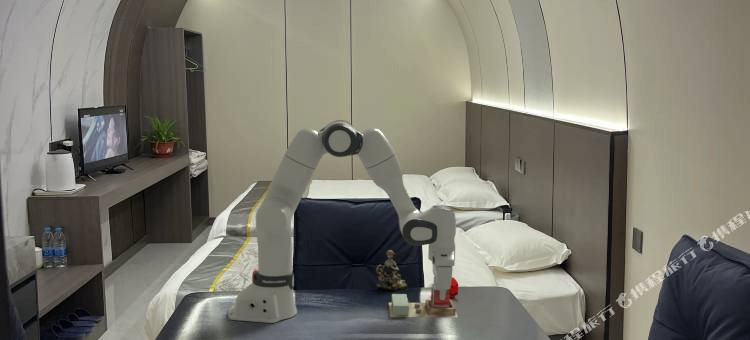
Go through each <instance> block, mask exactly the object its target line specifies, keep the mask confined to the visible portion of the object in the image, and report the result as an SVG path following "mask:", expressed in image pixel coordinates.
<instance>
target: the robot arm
mask: <svg viewBox="0 0 750 340" xmlns="http://www.w3.org/2000/svg"><path fill="white" fill-rule="evenodd" d="M326 154H329V155H331V156H333V157H336V158H346V157H351V156H355V155H356V156H357V157H358V158H359V160H360V162H361V163H362V165H363V168H364V169H365V172H366V173H367V174H368V176H369V178H370V179H371V180H372V182H373V183H374V184H375V185H376V186H377V187H378V188H380V189H382V191H384V192H385V193H386V194H387V196H388V198H389V200H390V201H391V204H392V205H393V207H394V209H395V211H396V214H397V217H398V229H399V230H400V232H401V235H402V238H403V240H404V241H405V243H407V244H409V245H411V246H414V247H417V246H418V247H419V246H427V245H428V252H427V254H428V256H427V257H428V260H429V261H431V264H432V274H433V276H434V277H435V278H436V282H437V285H438V287H439V289H440V293H439V298H440V299H441V300H445V294H446V290H449V289H450V286H451V279H452V277H453V267H455V265H456V263H455V262H456V241H455V238H456V233H457V221H456V220H457V219H456V218H457V217H456V214H455V211H454V210H453V209H452V208H450V207H447V206H444V205H438V204H436V205H432V206H431V207H430V208H429V209H426V210H425V211H423V212H422V210H420V209H419V208H417V207H416V206H415V204H414V203H413V201H412V199H411V197H410V195H409V193H408V191H407V189H406V187H405V185H404V184H405V183H404V178H403V174H404V173H403V170H402V169H403V168H402V166H401V163H400V160H399V157H398V155H397V154H396V151H395V150H394V147H393V146H392V145H391V143H390V141H389V140H388V139H387V137H386V136H385V134H384V133H383V131H381V129H379V128H376V127H374V128H373V127H369V128H367V129H364V130H361V131H359V130H357V129H356V128H355V127H354V126H353V125H352V123H350V122H349V121H347V120H343V119H337V120H334V121H332V122H329V124H327V125H326V126H324V127H322V128H321V129H320V130H316V129H315V128H310V127H308V128H305V127H304V128H302V129H300V130H299V131H298V132H297V133H296V134H295V136H294V137H293V139H292V141H291V142H290V144H289V145H288V147H287V149H286V151H285V153H284V155H283V157H282V159H281V161H280V163H279V166H278V168H277V170H276V172H275V174H274V175H273V178H272V181H271V182H270V185H269V186H268V187H269V188H268V190H267V192H266V194H265V196H264V197H263V200H262V202H261V204H260V206H259V207H258V209H257V211H256V214H255V229H256V230H255V231H256V232H255V233H256V241H257V242H256V243H257V259H258V261H257V264H258V265H257V267H258V269H253V271H252V276H251V283H250V284H249V285H247V286H246V287H245V288H243V289H242V290H241V291H240V292H239V293H238V294H237V296H236V297H235V302H234V305H231V307H230V308H229V310H228V311H227V318H228V319H229V320H231V321H232V320H233V321H245V322H255V323H266V324H267V323H269V324H273V323H274V324H275V323H277V322H279V321H282V320H287V319H289V318H292V317H294V316H296V315H297V313H298V309H297V307H296V303H295V295H294V286H295V283H294V282H295V279H294V278H295V277H294V276H295V275H294V271H293V246H292V245H293V244H292V226H291V225H292V224H291V223H292V218H293V216H294V214H295V212H296V210H297V208H298V205H299V204H300V202H301V200H302V198H303V196H304V194H305V192H306V189H308V186H309V184H310V182H311V179H312V178H313V175H314V173H315V171H316V169H317V167H318V165H319V163H320V161H321V160H322V158H323V157H324V155H326ZM434 277H433V278H434Z"/></svg>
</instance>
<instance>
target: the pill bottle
mask: <svg viewBox="0 0 750 340" xmlns="http://www.w3.org/2000/svg"><path fill="white" fill-rule="evenodd" d="M430 289H431V290H430V291H431V292H430V300H431V308H449V300H450V298H449V297H450V289H449V290H446V294H445V300H441V299H440V298H439V293H440V289H439V287H438V285H437V282H436V278H435V277H433V283H432V284H431V287H430Z"/></svg>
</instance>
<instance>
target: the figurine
mask: <svg viewBox="0 0 750 340" xmlns="http://www.w3.org/2000/svg"><path fill="white" fill-rule="evenodd" d="M385 255H386V256H387V258H388V259H387V260H385V262H384V264H383V265H382V264H378V265H377V267H376V269H375V272H376V275H377V276H376V277H377V278H378V282H379V283H378V284H377V283H376V288H375V290H376V291H391V292H393V291H394V292H395V291H409V289H408V287H409V285H408V284H407V283H406V280H405V279H402V276H401V274H400V273H398V272H399V271H400V269H399V267H398V266H397V263H396V259H397V255H396V253H395V252H394V251H393V250H392V249H389V250H387V251H386V252H385Z"/></svg>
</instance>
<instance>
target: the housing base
mask: <svg viewBox="0 0 750 340" xmlns="http://www.w3.org/2000/svg"><path fill="white" fill-rule="evenodd" d="M424 300H425V302H408V304H409V315H393V305H392V302H388V308H389V309H388V310H389V314H390V315H389V316H390V318H458V317H459V316H458V314H457V310H456V306H455V304H454V301H453V299H449V308H431V299H424Z"/></svg>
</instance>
